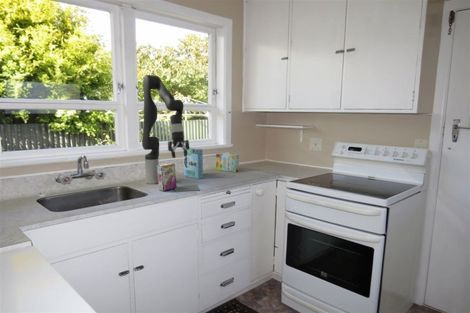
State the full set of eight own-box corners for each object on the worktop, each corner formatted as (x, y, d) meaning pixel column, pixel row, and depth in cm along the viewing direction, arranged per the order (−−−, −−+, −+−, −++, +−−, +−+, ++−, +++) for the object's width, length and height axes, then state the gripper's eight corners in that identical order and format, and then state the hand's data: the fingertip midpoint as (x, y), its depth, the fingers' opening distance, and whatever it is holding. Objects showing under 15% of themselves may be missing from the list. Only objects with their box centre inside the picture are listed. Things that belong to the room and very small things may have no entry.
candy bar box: (163, 191, 195) (161, 166, 193) (158, 190, 198) (156, 165, 196) (177, 187, 204) (175, 163, 201) (172, 186, 207) (170, 162, 204)
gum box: (203, 178, 237) (203, 149, 234) (197, 179, 234) (197, 149, 231) (188, 174, 251) (187, 147, 248) (183, 175, 248) (182, 147, 245)
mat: (173, 186, 210) (173, 185, 209) (196, 185, 214) (196, 184, 214) (175, 191, 195) (175, 190, 195) (199, 190, 199) (199, 189, 199)
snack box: (239, 171, 268) (239, 154, 266) (235, 172, 263) (235, 155, 261) (219, 169, 279) (219, 152, 277) (215, 170, 274) (215, 153, 272)
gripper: (183, 131, 200) (185, 156, 200) (164, 132, 190) (166, 158, 190) (190, 130, 194) (192, 156, 195) (170, 131, 184) (173, 157, 185)
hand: (179, 157), depth 193 cm, fingers open, 8 cm apart
